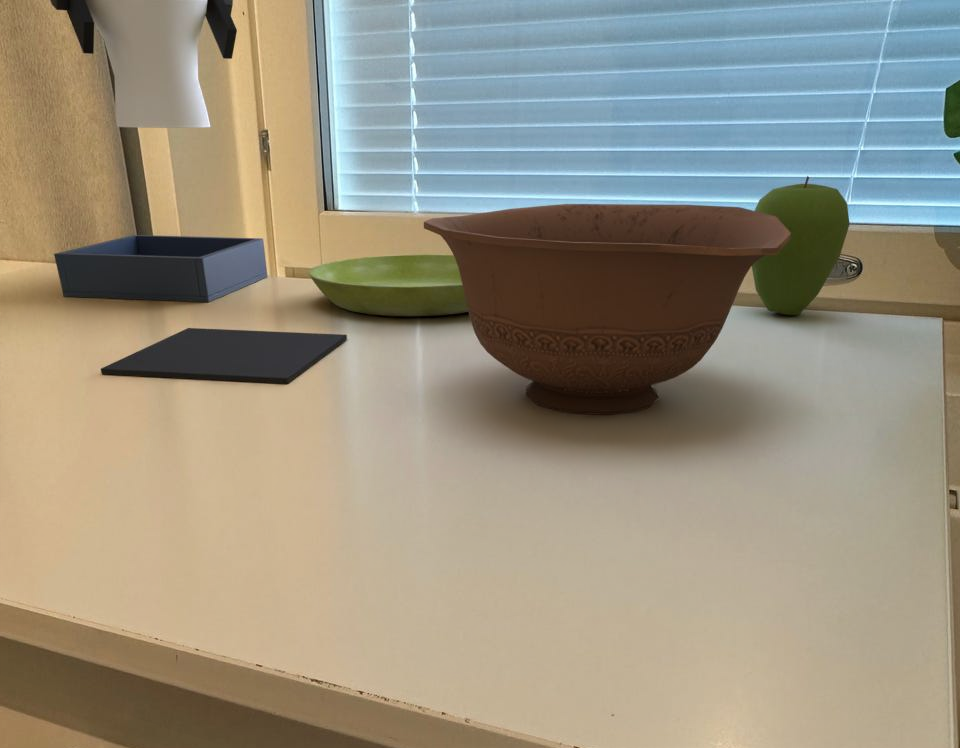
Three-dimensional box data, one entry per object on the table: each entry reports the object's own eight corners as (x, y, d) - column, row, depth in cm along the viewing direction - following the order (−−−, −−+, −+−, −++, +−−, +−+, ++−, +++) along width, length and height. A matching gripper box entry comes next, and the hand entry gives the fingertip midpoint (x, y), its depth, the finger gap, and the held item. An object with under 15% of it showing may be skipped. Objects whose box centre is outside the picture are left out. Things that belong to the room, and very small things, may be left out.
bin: (63, 296, 89) (53, 253, 87) (139, 272, 102) (132, 234, 100) (208, 302, 87) (202, 258, 85) (267, 276, 100) (263, 238, 98)
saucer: (532, 287, 95) (533, 255, 93) (509, 328, 77) (510, 289, 76) (344, 282, 97) (342, 250, 96) (281, 320, 80) (277, 282, 78)
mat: (101, 374, 63) (100, 368, 63) (188, 332, 75) (188, 327, 75) (287, 383, 61) (286, 378, 61) (347, 339, 73) (346, 334, 73)
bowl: (836, 414, 56) (877, 223, 50) (544, 474, 46) (554, 247, 41) (622, 344, 72) (635, 194, 66) (374, 377, 63) (364, 206, 57)
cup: (252, 128, 79) (229, -88, 71) (171, 130, 70) (134, -115, 63) (159, 126, 82) (127, -80, 75) (70, 128, 74) (25, -103, 66)
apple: (738, 303, 88) (757, 172, 82) (827, 308, 86) (854, 174, 80) (735, 320, 80) (756, 177, 75) (833, 326, 79) (862, 180, 73)
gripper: (202, -110, 83) (286, 84, 80) (-77, -146, 72) (9, 77, 69) (213, -200, 76) (305, 7, 73) (-92, -255, 65) (2, -13, 62)
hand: (162, 41), depth 71 cm, fingers closed on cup, 11 cm apart
